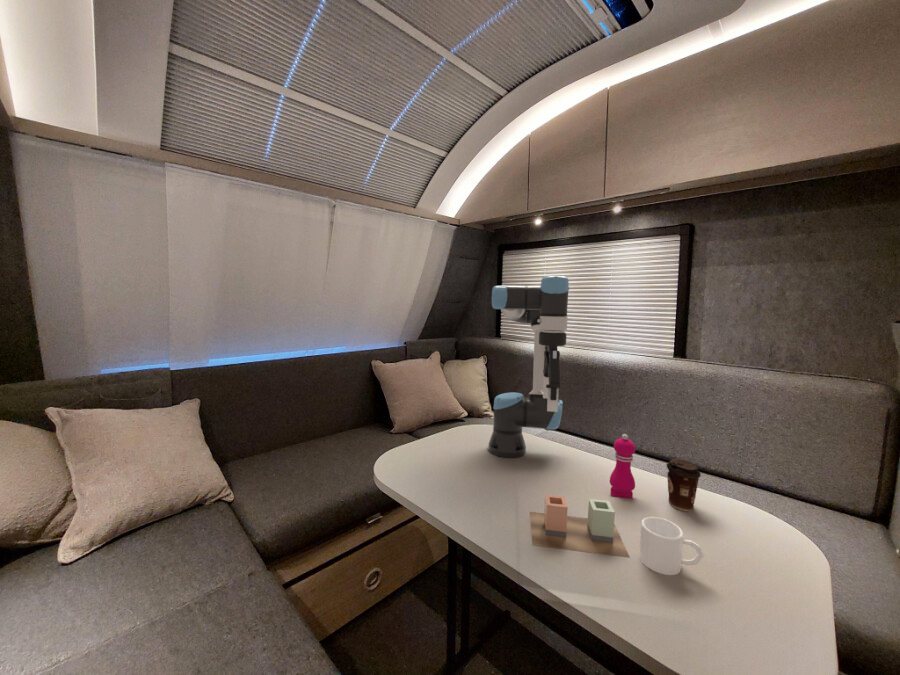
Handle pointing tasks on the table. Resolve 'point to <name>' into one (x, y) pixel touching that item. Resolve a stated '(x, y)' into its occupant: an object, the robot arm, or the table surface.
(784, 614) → the table surface
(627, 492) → the pepper mill
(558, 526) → the terracotta sleeve
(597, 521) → the sage sleeve
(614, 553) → the pin board
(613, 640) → the table surface
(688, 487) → the coffee cup
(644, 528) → the mug
